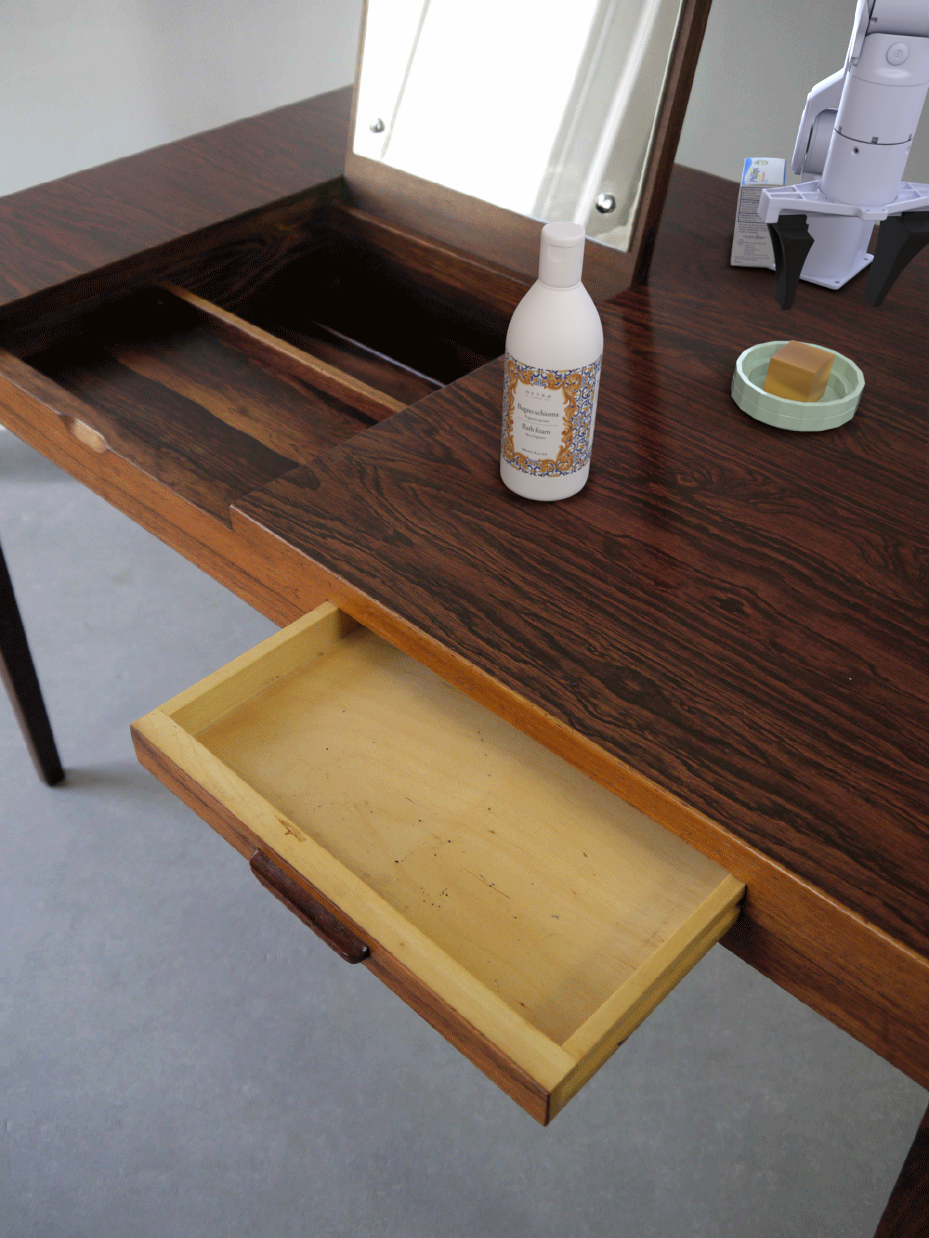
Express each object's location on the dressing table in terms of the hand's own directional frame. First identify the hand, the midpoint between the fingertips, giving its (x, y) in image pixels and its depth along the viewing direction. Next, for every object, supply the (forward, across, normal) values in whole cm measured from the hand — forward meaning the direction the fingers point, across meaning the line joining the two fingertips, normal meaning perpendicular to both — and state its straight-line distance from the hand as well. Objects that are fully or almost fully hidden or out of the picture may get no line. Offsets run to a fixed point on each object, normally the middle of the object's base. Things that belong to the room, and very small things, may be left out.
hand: (827, 302), depth 87 cm
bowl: (+8, -2, -2) cm, 9 cm away
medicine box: (+8, +4, +28) cm, 29 cm away
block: (+8, -2, -2) cm, 8 cm away
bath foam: (+9, -25, -11) cm, 29 cm away
